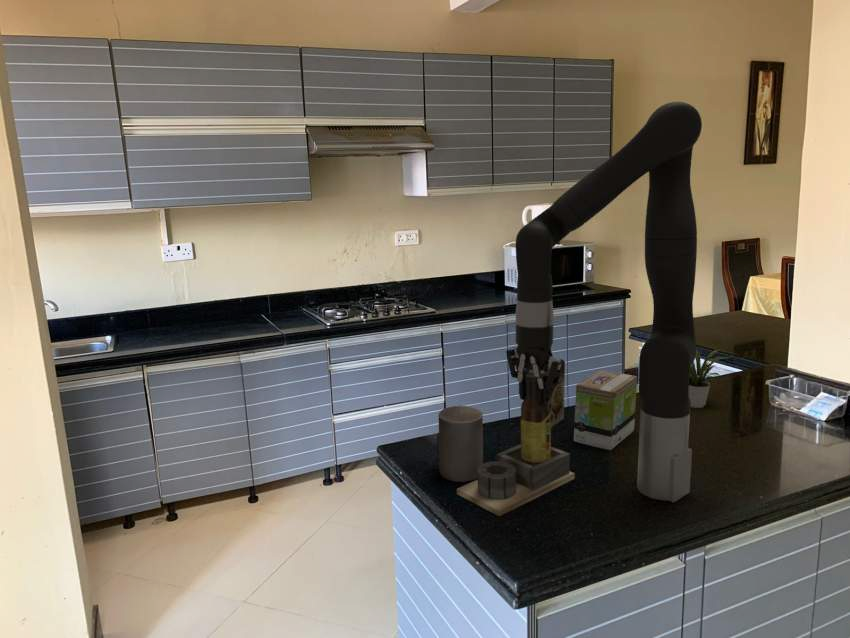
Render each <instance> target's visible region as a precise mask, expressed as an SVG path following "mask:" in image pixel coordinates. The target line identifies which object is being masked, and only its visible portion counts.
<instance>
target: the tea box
mask: <svg viewBox="0 0 850 638" xmlns="http://www.w3.org/2000/svg"><path fill="white" fill-rule="evenodd" d="M637 388H638V376H636V375H631V374H627V373H626V374H624V373H620V372H616V371H609V370H604V369H603V370H601V369H600V370H598V371H597V372H595V373H593V374H592V375H590V376H588V377H587V378H586V379H584V380H582V381H580V382H578V383H577V384H576V389H575V409H574V428H573V442H575V443H578V444H582V445H586V446H590V447H594V448H597V449H598V448H599V449H603V450H607V451H612V450H613V449H614V448H615V447H616V446H617V445H618V444H620V443H621V442H622V441H623V440H625V439H626V438H627V437H628V436H629V435H631V434H632V433H633V432H634V430H635V424H636V423H635V422H636V421H635V417H636V405H637V404H636V402H637Z"/></svg>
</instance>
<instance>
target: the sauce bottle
mask: <svg viewBox="0 0 850 638" xmlns="http://www.w3.org/2000/svg"><path fill="white" fill-rule="evenodd" d="M543 380H544V377H543ZM525 381H526V395H527V396H526V398H525V399H524V400H522V402H521V405H520V444H521V458H522V462H524V463H526V464H529V465H531V466H535V465H538V464H540V463H542V462H544V461H546V460H549V459H550V458H551V447H552V446H551V445H552V443H551V442H552V441H551V440H552V439H551V438H552V434H551V432H552V427H551V410H550V408H549V405H548V403H547V404H546V405H543V406H541V405H539V403H538V388H539V384H538V380H537V378H536V377H535V374H534V372H530V373H527V374H526V375H525ZM544 382H545V381H544Z"/></svg>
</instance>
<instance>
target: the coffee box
mask: <svg viewBox="0 0 850 638" xmlns="http://www.w3.org/2000/svg"><path fill="white" fill-rule="evenodd" d="M563 361H564V365H563V368H562V372H561V375H560V379H559V382H558V385H556V386H553V387H550V391H549V402H548V405H549V408H550V410H551V428H553V427H554V426H555V425H557V424H559V423H560V422H561V421H563V420H564V419H565V381H566V380H565V377H566V376H565V370H566V360H563ZM549 366H550V363H549ZM543 371H544V370H542V371H540V372H543ZM531 372H534V371H531Z"/></svg>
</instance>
